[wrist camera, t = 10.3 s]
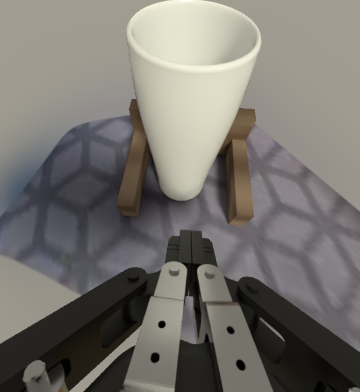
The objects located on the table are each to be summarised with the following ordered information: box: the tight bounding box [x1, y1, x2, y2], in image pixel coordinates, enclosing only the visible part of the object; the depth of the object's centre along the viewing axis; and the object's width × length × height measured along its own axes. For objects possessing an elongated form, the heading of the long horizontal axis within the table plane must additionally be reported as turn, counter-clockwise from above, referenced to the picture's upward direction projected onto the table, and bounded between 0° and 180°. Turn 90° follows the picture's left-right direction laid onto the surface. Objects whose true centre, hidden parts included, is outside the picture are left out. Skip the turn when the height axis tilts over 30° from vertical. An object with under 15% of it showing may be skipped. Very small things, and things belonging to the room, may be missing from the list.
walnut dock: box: [116, 99, 256, 226], centre depth 20 cm, size 11×13×6 cm
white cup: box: [126, 0, 261, 201], centre depth 16 cm, size 7×7×15 cm
